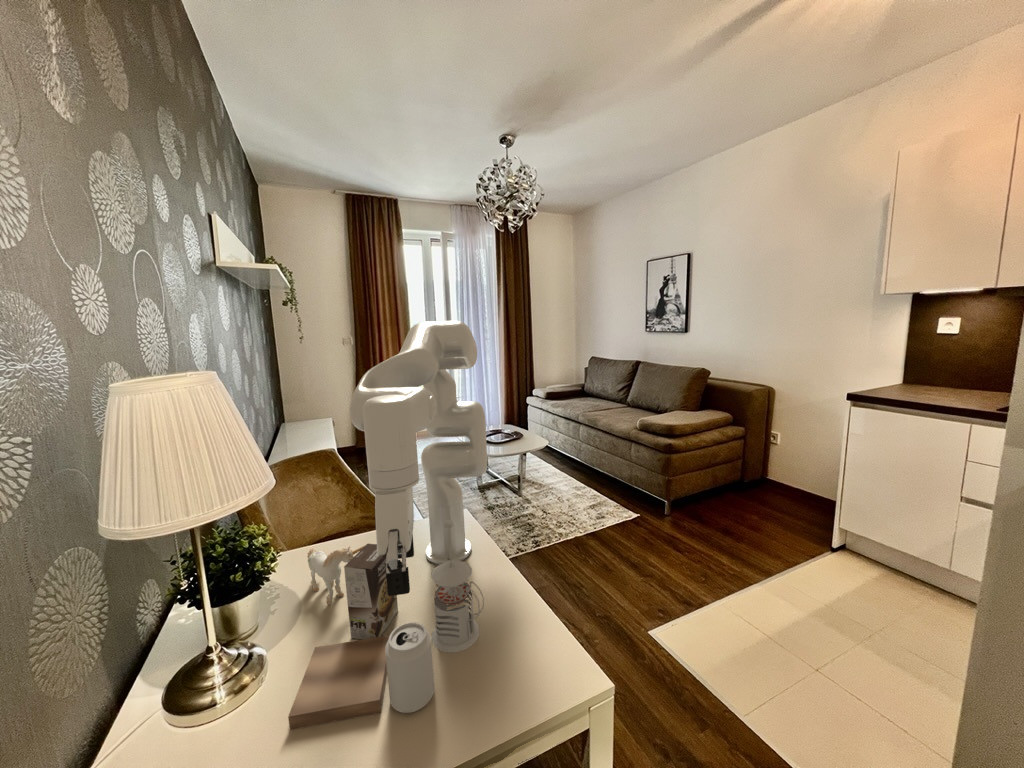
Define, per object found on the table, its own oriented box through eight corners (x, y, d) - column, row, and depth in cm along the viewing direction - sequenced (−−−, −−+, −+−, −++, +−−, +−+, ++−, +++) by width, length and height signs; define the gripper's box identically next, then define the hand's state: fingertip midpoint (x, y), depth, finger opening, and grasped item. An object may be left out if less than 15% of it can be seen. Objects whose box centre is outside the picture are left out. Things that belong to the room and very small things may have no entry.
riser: (316, 658, 78) (315, 647, 77) (391, 646, 80) (390, 635, 80) (290, 730, 64) (288, 716, 64) (381, 712, 66) (379, 699, 66)
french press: (449, 610, 89) (442, 505, 85) (495, 626, 84) (490, 515, 80) (421, 642, 81) (412, 527, 77) (470, 662, 75) (463, 540, 72)
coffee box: (378, 642, 81) (371, 569, 78) (349, 638, 82) (342, 566, 80) (399, 610, 90) (393, 544, 87) (373, 607, 91) (367, 541, 89)
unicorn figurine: (352, 615, 89) (346, 560, 87) (291, 594, 96) (284, 543, 94) (375, 595, 95) (370, 543, 93) (316, 577, 103) (310, 528, 101)
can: (394, 679, 72) (389, 620, 70) (436, 674, 73) (432, 615, 71) (386, 720, 65) (379, 655, 63) (432, 714, 66) (428, 649, 64)
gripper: (377, 458, 71) (385, 548, 73) (357, 500, 54) (368, 615, 56) (421, 454, 72) (427, 543, 74) (414, 494, 55) (423, 607, 58)
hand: (402, 574), depth 65 cm, fingers open, 9 cm apart
